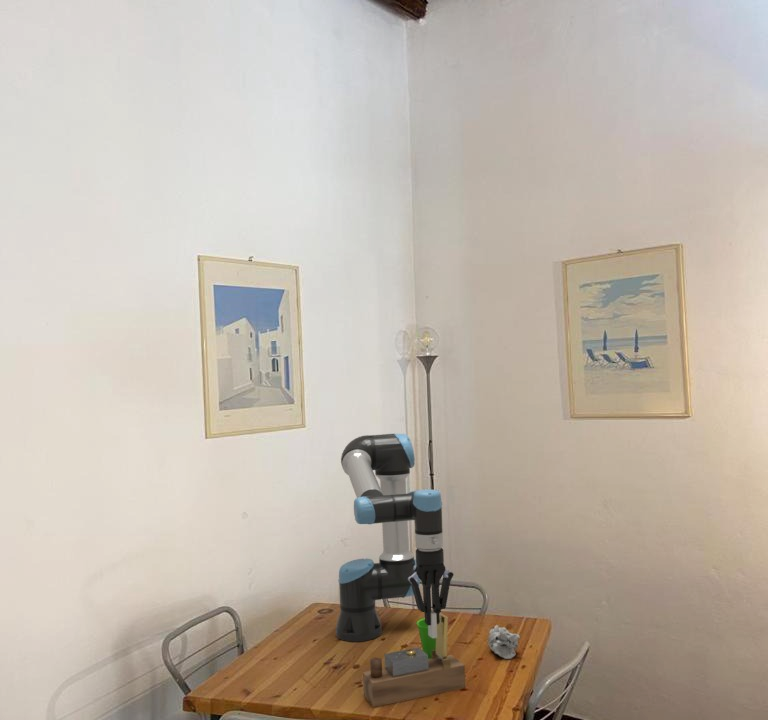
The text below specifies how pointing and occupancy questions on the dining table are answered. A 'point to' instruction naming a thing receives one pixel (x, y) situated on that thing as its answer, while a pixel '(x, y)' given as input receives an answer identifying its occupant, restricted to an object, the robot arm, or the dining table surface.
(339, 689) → the dining table surface
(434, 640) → the cup
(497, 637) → the figurine
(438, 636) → the lever
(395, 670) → the lever cap
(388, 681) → the plane body
